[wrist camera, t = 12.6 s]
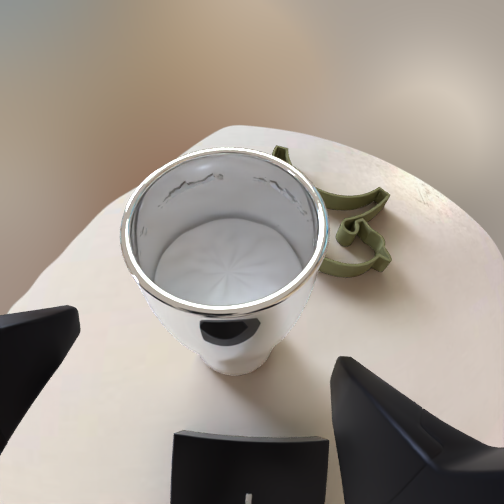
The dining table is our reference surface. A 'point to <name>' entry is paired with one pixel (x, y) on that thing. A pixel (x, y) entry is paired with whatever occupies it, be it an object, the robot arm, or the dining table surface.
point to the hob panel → (248, 469)
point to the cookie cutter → (352, 227)
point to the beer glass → (226, 251)
